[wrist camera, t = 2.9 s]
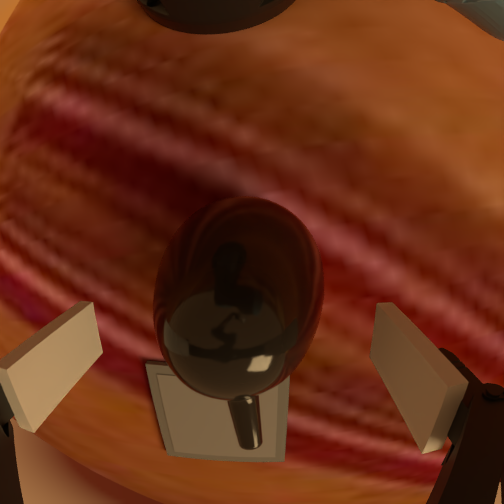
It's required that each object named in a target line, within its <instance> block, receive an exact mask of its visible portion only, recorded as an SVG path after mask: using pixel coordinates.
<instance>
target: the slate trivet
mask: <svg viewBox="0 0 504 504" xmlns="http://www.w3.org/2000/svg"><path fill="white" fill-rule="evenodd" d="M145 365H146V370H147V374H148V379H149V384H150V388H151V393H152V397H153V401H154V406H155V410H156V414H157V418H158V422H159V426H160V429H161V433H162V437H163V440H164V444H165V448H166V451H167V454H168V455H170V456H177V457H186V458H195V459H206V460H220V461H240V462H284V458H285V445H286V431H287V415H288V399H289V380H290V375H289V376H288V377H287V378H286V379H285V380H284V381H283V382H282V383H280V384H279V385H277V386H276V387H274V388H273V389H271V390H269V391H267V392H265V393H262V394H260V395H259V403H260V416H261V427H262V439H263V443H262V445H261V446H260V447H259V448H257V449H254V450H244V449H242V448H241V447H240V446H239V443H238V440H237V436H236V433H235V429H234V425H233V422H232V418H231V414H230V411H229V407H228V403H227V401H224V400H217V399H213V398H209V397H205V396H203V395H200V394H198V393H196V392H194V391H192V390H191V389H189V388H188V387H187V386H185V385H184V384H183V383H182V382H181V381H180V380H179V379H178V378H177V377H176V376H175V374H174V373H173V372H172V371H171V369H170V368H169V366H168V364H167V363H166V362H157V361H147V362H146V364H145Z"/></svg>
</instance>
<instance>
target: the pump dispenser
mask: <svg viewBox="0 0 504 504" xmlns="http://www.w3.org/2000/svg"><path fill="white" fill-rule="evenodd" d="M323 299H324V272H323V264H322V259H321V255H320V252H319V249H318V246H317V244H316V242H315V240H314V238H313V236H312V235H311V233H310V231H309V230H308V229H307V227H306V226H305V225H304V224H303V222H302V221H301V220H300V219H299V218H298V217H297V216H296V215H294V214H293V213H292V212H291V211H289V210H288V209H286V208H285V207H283V206H281V205H279V204H277V203H275V202H272V201H270V200H266V199H263V198H258V197H251V196H236V197H229V198H224V199H221V200H218V201H215V202H212V203H210V204H208V205H206V206H204V207H203V208H201V209H199V210H198V211H196V212H195V213H194V214H193V215H191V216H190V217H189V218H188V219H187V220H186V221H185V222H184V223H183V224H182V225H181V227H180V228H179V229H178V230H177V232H176V233H175V235H174V236H173V238H172V239H171V241H170V243H169V245H168V246H167V248H166V250H165V253H164V255H163V257H162V260H161V263H160V266H159V269H158V273H157V278H156V283H155V290H154V299H153V321H154V329H155V334H156V338H157V342H158V345H159V348H160V351H161V353H162V355H163V357H164V359H165V361H166V363H167V364H168V366H169V368H170V369H171V371H172V372H173V373H174V374H175V376H176V377H177V378H178V379H179V380H180V381H181V382H182V383H183V384H184V385H185V386H187V387H188V388H189V389H191V390H192V391H194V392H196V393H198V394H200V395H203V396H205V397H209V398H213V399H217V400H224V401H227V403H228V407H229V411H230V414H231V418H232V422H233V425H234V429H235V433H236V436H237V440H238V443H239V446H240V447H241V448H242V449H244V450H254V449H257V448H259V447H260V446H261V445H262V443H263V439H262V427H261V416H260V403H259V395H260V394H262V393H265V392H267V391H269V390H271V389H273V388H274V387H276V386H277V385H279V384H280V383H282V382H283V381H284V380H285V379H286V378H287V377H288V376H289V375H290V374H291V373H292V372H293V371H294V370H295V369H296V368H297V366H298V365H299V364H300V362H301V361H302V359H303V358H304V356H305V354H306V353H307V351H308V349H309V347H310V345H311V343H312V341H313V338H314V336H315V333H316V330H317V327H318V323H319V320H320V316H321V312H322V306H323Z"/></svg>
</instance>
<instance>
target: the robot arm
mask: <svg viewBox="0 0 504 504" xmlns="http://www.w3.org/2000/svg"><path fill="white" fill-rule="evenodd" d="M294 1H295V0H137V2H138V3H139V4H140V5H141V7H142V8H143V9H144V11H145V12H146V13H147V14H148V15H149V16H150V17H151V18H152V19H153V20H155V21H156V22H158V23H159V24H161V25H163V26H165V27H168V28H170V29H173V30H177V31H181V32H186V33H193V34H221V33H229V32H234V31H239V30H243V29H247V28H250V27H253V26H256V25H259V24H261V23H264V22H266V21H268V20H270V19H272V18H274V17H275V16H277V15H279V14H280V13H282V12H283V11H284V10H286V9H287V8H288V7H289V6H290V5H291V4H292V3H293V2H294ZM435 1H438V2H441V3H446V4H447V5H449V6H450V7H452V8H453V9H455V10H456V11H458V12H459V13H460V14H462V15H463V16H465V17H466V18H468V19H469V20H470V21H472V22H473V23H474V24H476V25H477V26H478V27H480V28H481V29H482V30H484V31H485V32H487V33H488V34H490V35H491V36H493V37H495V38H497V39H499V40H502V41H504V0H435ZM102 353H103V351H102V346H101V342H100V337H99V332H98V327H97V322H96V317H95V312H94V306H93V302H84V301H80V302H78V303H77V304H75V305H74V306H73V307H71V308H70V309H68V310H67V311H66V312H64V313H63V314H61V315H60V316H59V317H57V318H56V319H54V320H53V321H52V322H50V323H49V324H47V325H46V326H45V327H43V328H42V329H41V330H39V331H38V332H37V333H35V334H34V335H33V336H31V337H30V338H28V339H27V340H26V341H24V342H23V343H22V344H20V345H19V346H18V347H17V348H15V349H14V350H13V351H11V352H10V353H9V354H7V355H6V356H5V357H3V358H2V359H1V360H0V504H24V503H23V498H22V493H21V488H20V482H19V476H18V469H17V462H16V455H15V446H14V434H13V427H12V424H11V422H10V419H11V418H12V417H13V416H15V418H16V420H17V422H18V424H19V426H20V427H21V428H23V429H26V430H28V431H30V432H33V433H34V432H35V431H36V430H37V429H38V427H39V426H40V425H41V424H42V423H43V421H44V420H45V419H46V418H47V417H48V415H49V414H50V413H51V412H52V411H53V409H54V408H55V407H56V406H57V405H58V404H59V402H60V401H61V400H62V399H63V398H64V396H65V395H66V394H67V393H68V392H69V391H70V389H71V388H72V387H73V386H74V385H75V384H76V382H77V381H78V380H79V379H80V378H81V377H82V376H83V374H84V373H85V372H86V371H87V370H88V369H89V368H90V366H91V365H92V364H93V363H94V362H95V361H96V360H97V359H98V357H99V356H100V355H101V354H102ZM370 359H371V360H372V362H373V364H374V366H375V367H376V369H377V371H378V373H379V375H380V376H381V378H382V380H383V382H384V383H385V385H386V387H387V389H388V391H389V393H390V394H391V396H392V398H393V400H394V402H395V404H396V405H397V407H398V409H399V411H400V413H401V415H402V417H403V418H404V420H405V422H406V424H407V426H408V428H409V430H410V432H411V434H412V436H413V438H414V439H415V441H416V443H417V445H418V447H419V449H420V451H421V453H422V454H424V453H427V452H431V451H435V450H439V449H442V446H443V444H444V442H445V440H446V438H447V436H448V437H449V439H450V440H451V442H452V445H451V447H450V449H449V451H448V453H447V455H446V457H445V459H444V461H443V462H442V464H441V465H443V467H442V469H441V472H440V474H439V476H438V479H437V481H436V483H435V485H434V488H433V490H432V492H431V494H430V496H429V499H428V501H427V503H426V504H494V502H495V498H496V494H497V490H498V486H499V481H500V478H501V497H502V504H504V388H503V387H502V386H499V385H496V384H491V383H486V384H482V383H481V381H480V380H479V379H478V378H477V377H476V376H475V375H474V374H473V373H472V372H471V371H470V370H469V369H468V368H467V367H465V365H464V364H463V363H462V362H460V360H459V359H458V358H457V357H456V356H455V355H454V354H453V353H452V352H450V351H448V350H446V349H444V348H439V349H438V348H437V347H436V346H435V345H434V344H433V343H432V342H431V341H430V340H429V339H428V338H427V337H426V336H425V335H424V334H423V333H422V332H421V331H420V330H419V329H418V328H417V327H416V326H415V325H414V324H413V323H412V322H411V321H410V320H409V319H408V318H407V317H406V316H405V315H404V314H403V313H402V312H401V311H400V310H399V309H398V308H397V307H396V306H395V305H394V304H393V303H392V302H390V303H377V306H376V315H375V323H374V330H373V337H372V344H371V351H370Z"/></svg>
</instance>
